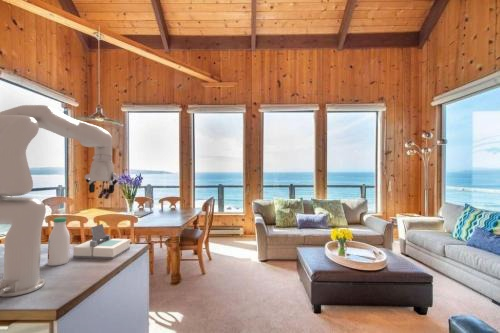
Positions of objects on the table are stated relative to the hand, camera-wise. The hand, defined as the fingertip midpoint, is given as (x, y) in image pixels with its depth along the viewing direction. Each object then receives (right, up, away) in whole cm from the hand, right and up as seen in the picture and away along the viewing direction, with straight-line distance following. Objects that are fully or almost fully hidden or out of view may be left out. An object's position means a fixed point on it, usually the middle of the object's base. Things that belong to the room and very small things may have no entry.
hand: (101, 192), depth 127 cm
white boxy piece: (+1, -30, 0) cm, 30 cm away
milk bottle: (-11, -30, -15) cm, 35 cm away
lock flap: (-2, -21, 0) cm, 21 cm away
